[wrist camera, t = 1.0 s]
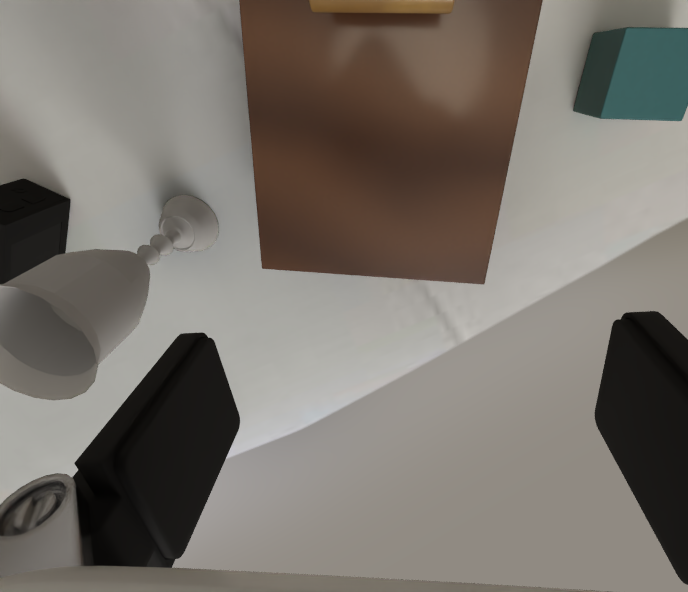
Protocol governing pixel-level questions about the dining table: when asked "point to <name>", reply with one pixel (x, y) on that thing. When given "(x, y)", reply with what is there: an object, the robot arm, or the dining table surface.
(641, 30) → the block
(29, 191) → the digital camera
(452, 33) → the box lid
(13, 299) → the chalice
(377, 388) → the dining table surface
